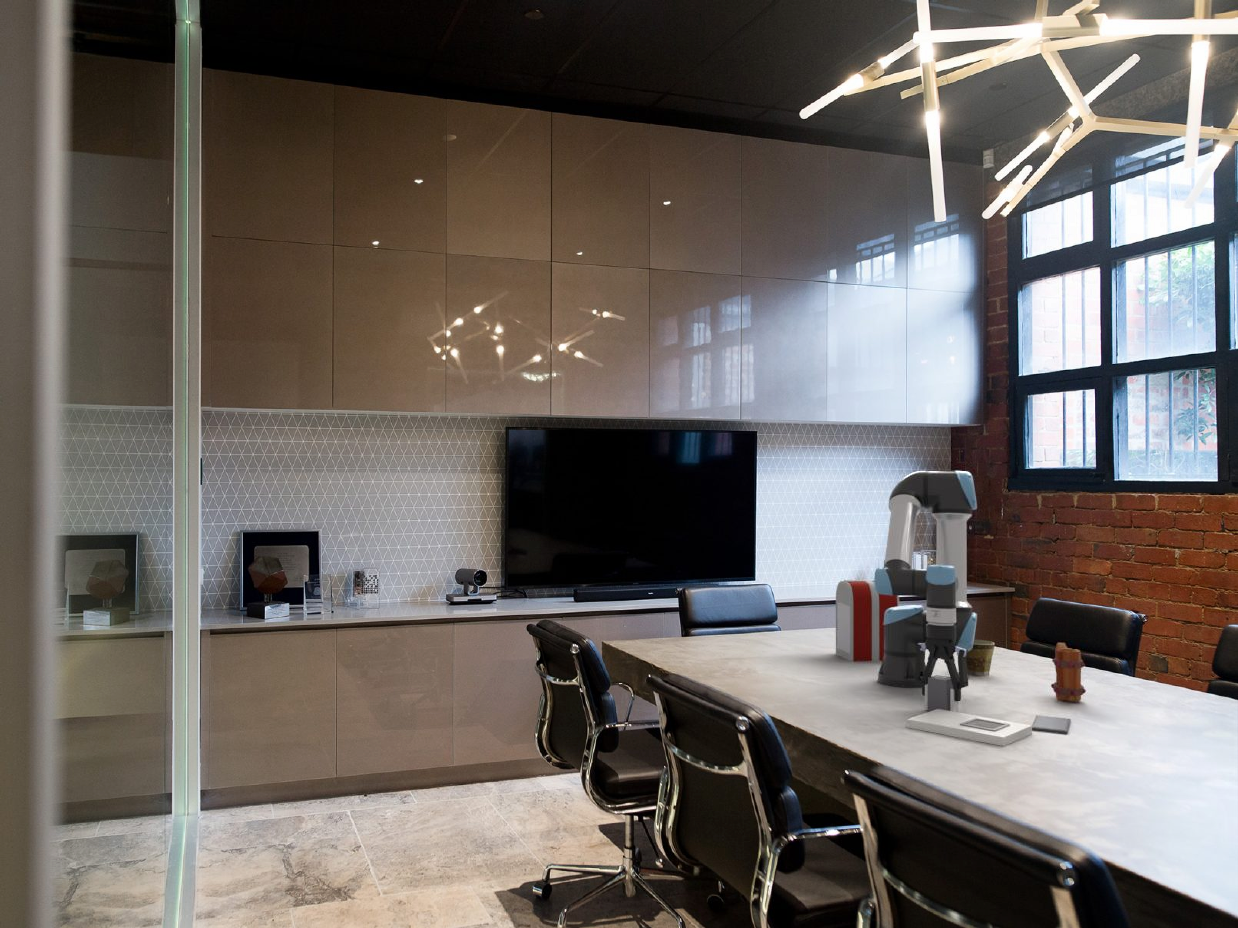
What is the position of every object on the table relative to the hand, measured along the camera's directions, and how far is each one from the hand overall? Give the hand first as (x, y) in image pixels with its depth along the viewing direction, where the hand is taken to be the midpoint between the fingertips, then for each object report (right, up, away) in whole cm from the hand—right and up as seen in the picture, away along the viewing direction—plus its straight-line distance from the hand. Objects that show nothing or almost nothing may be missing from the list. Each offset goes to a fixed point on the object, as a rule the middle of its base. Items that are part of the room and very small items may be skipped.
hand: (941, 710), depth 251 cm
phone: (+23, -1, -14) cm, 27 cm away
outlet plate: (0, 0, -20) cm, 20 cm away
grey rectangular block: (0, 0, 0) cm, 0 cm away
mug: (+41, -1, +17) cm, 45 cm away
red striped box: (+2, -3, +83) cm, 83 cm away
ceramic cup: (+29, -2, +55) cm, 63 cm away
